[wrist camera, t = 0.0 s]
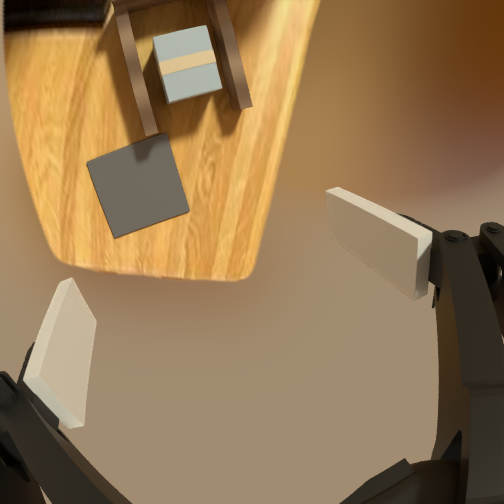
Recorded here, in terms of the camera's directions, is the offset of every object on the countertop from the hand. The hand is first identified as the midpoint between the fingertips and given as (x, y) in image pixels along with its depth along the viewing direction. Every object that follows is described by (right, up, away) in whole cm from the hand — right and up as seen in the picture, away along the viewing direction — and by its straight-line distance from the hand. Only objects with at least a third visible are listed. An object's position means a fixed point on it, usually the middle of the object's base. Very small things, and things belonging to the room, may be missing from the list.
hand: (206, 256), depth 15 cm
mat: (-13, +9, +24) cm, 28 cm away
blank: (-7, +23, +20) cm, 31 cm away
